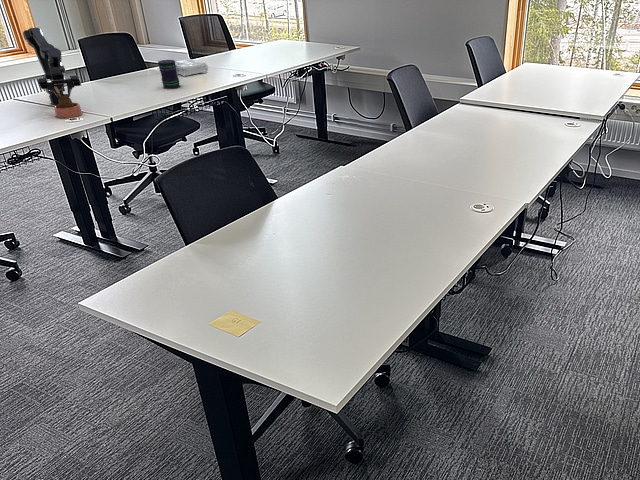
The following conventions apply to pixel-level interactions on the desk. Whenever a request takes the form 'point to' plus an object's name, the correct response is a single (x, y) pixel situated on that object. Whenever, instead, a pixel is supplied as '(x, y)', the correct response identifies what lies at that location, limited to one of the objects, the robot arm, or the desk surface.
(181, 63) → the white plastic package
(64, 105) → the utensil holder
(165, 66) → the storage jar
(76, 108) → the pot
